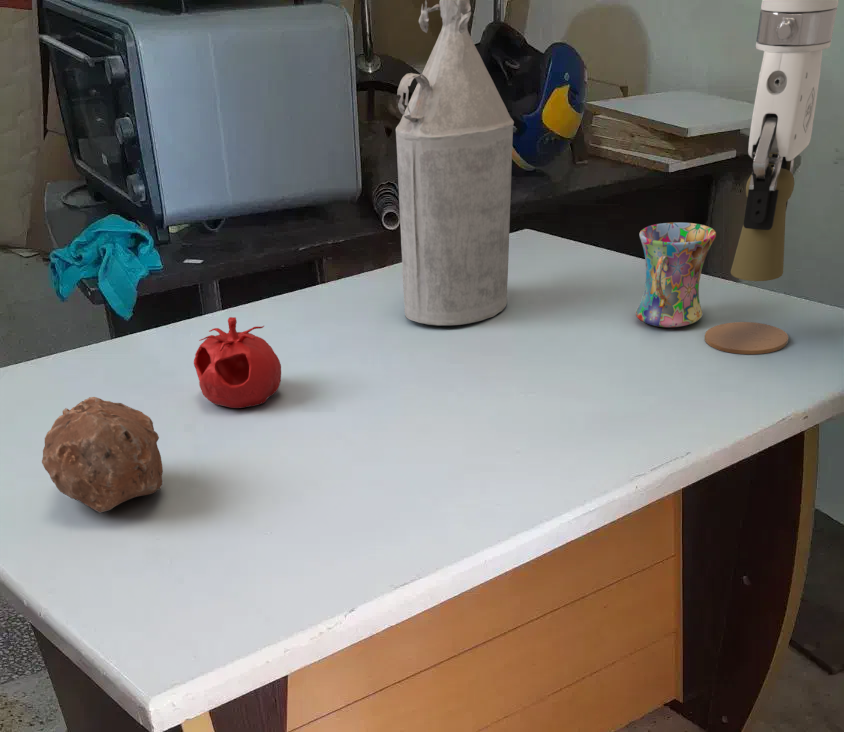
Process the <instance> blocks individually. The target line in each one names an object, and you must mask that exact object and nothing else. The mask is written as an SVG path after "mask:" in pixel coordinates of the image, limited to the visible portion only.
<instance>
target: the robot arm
mask: <svg viewBox="0 0 844 732" xmlns="http://www.w3.org/2000/svg"><path fill="white" fill-rule="evenodd" d="M839 1H840V0H761V5H760V12H759V20H758V26H757V33H756V42H755V49H756V50H758V51H761V52H762V51H763V56H762V59H761V65H760V70H759V73H758V82H757V87H756V93H755V97H754V104H753V110H752V117H751V123H750V129H749V138H748V148H747V149H748V150H747V153H748V156H749V157H750V158H751V159H752V160H753V162H752V170H751V174H752V175H751V174H750V176H751V180H750V185H749V190H748V197H747V196H746V197H747V198H746V205H745V212H744V217H743V223H744V224H742V227H743V226H744V227H745V228H749V229H760V230H770V229H771V228H772V227H773V222H774V216H775V210H776V204H777V198H778V192H779V190H776V186H777V182H778V177H779V173H780V168H783V169H787V170H789V171H790V172H791V173H792V174H793V171H794V165H795V163H794V162H795V158H796V157H797V156H799V155H800V154H801V153H802V152H803V151H804V150H805V149H806V148H807V147H808V146H809V144H810V143H811V140H812V135H813V128H814V127H813V126H814V119H815V114H816V106H817V101H818V100H817V99H818V92H819V86H820V85H819V84H820V77H821V71H822V62H823V61H822V60H823V50H827V49H830V48H831V46H832V45H831V44H832V39H833V33H834V28H835V24H836V23H835V22H836V18H837V13H838V6H839ZM771 167H774V168H773V173H772V170H771ZM788 202H789V200H788V201H787V202H786V210H787V208H788Z"/></svg>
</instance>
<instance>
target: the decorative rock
mask: <svg viewBox="0 0 844 732" xmlns="http://www.w3.org/2000/svg"><path fill="white" fill-rule="evenodd" d="M159 439H160V437H159V434H158V433H157V432H156V431H155V428H154V422H153V420H152V419H151V417H150V416H149V415H147V414H145V413H144V412H143V411H141V410H138V409H135V408H133V407H130V406H129V405H125V404H124V403H123V402H113V401H110V400H103V399H102V398H99V397H96V396H90V397H88V398H86V399H84V400H82V401H80V402H79V403H77V404H76V405H75V406H73V407H71V409H69V408H67V407H65V408H64V409H63V410H62V415H59V416H58V417H57V418H56V419H55V420H54V422H53V424H52V426H51V428H50V429H49V430H48V431H47V432H46V435H45V437H44V447H43V450H42V459H41V464H42V466H43V468H44V470H45V471H46V473H47V474H48V475H49V478H50V480H51V481H52V483H54V485H55V488H57V490H58V491H59V492H60V493H61V494H63V495H66V496H67V497H69V498H70V499H74V500H75V501H78V502H80V503H82V504H84V505H86V506H87V507H89V508H91V509H92V510H94V511H95V512H98V513H99V514H100V513H103V512H104V513H105V512H107V511H110V510H112V509H113V508H115V507H117V506H119V505H120V504H122V503H125V502H127V501H129V500H131V499H134V498H138V497H142V496H149V495H151V494H155V493H157V491H158V490H161V489H162V486H163V474H164V468H163V461H162V456H161V452H160V450H159V447H158V441H159Z"/></svg>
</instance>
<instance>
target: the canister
mask: <svg viewBox="0 0 844 732" xmlns="http://www.w3.org/2000/svg"><path fill="white" fill-rule="evenodd" d="M427 1H428V0H425V1H424V4H423V3H421V7H420V16H419V18H418V24H419V27H420V29H421V31H422V32H424V33H426V34H428V30H429V25H430V24H429V20H430V18H429V16H430V15H429V13H432V12H434V11H440V18H441V19H442V21H441V22H442V26H441V30H440V32H439V34H438V37H437V39H436V41H435V44H434V46H433V48H432V50H431V52H430V55H429V57H428V59H427V62H426V63H425V66H424V69H423V71H422V72H421V74H418V73H413V72H410V73H406V74H405V75H404V76H403V77H402V78H401V80H400V82H399V84H398V88H397V93H396V95H397V96H400V98H399V101H398V103H397V108H398V110H399V112H400V114H402V117H401V118H400V121H399V123H398V124H397V126H396V127H395V141H396V156H397V157H396V161H397V181H398V183H397V184H398V204H399V221H400V222H399V224H400V226H399V227H400V247H401V266H402V287H403V304H404V311H403V312H404V315H405V318H406V319H407V320H410V321H412V322H415V323H419V324H425V325H427V326H438V327H439V326H461V325H469V324H473V323H478V322H482V321H484V320H487V319H489V318H494V317H495V316H496V315H497V314H499V313H501V312H503V311H504V309H505V308H506V306H507V305H508V284H509V283H508V281H509V279H508V278H509V254H510V253H509V252H510V250H509V249H510V226H511V225H510V223H511V195H512V194H511V193H512V169H513V168H512V165H513V163H512V162H513V141H514V139H513V137H514V136H513V135H514V124H515V121H514V120H513V118H512V117H511V115H510V113H509V112H508V111H509V110H508V109H507V107H506V104H505V103H504V101H503V99H502V97H501V95H500V93H499V91H498V89H497V87H496V84H495V83H494V80H493V79H492V77H491V75H490V73H489V71H488V69H487V67H486V65H485V62H484V61H483V59H482V57H481V55H480V53H479V51H478V49H477V47H476V45H475V43H474V41H473V39H472V37H471V35H470V32H469V31H468V22H469V21H470V18H471V15H472V11H471V8H472V7H471V2H470V0H439V3H436V4H435V5H433V6H432V7H428V2H427ZM414 79H415V80H416V83H417V84H416V85H415V86H416V87H415V89H414V91H413V92H412V94H411V96H410V99H409V93H410V90H409V87H411V85H412V82H413V80H414ZM404 94H405V100H404ZM403 101H404V105H405V106H406V108H405V106H404V105H403Z"/></svg>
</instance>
